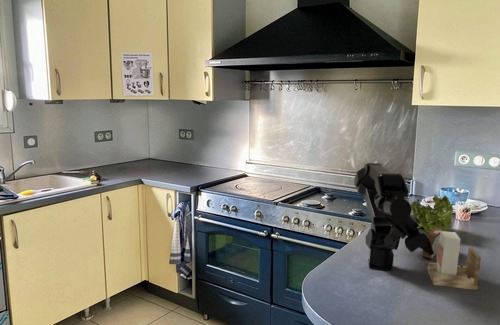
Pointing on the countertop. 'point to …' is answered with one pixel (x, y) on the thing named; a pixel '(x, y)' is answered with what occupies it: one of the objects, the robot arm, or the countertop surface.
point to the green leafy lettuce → (434, 214)
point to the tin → (433, 242)
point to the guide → (459, 273)
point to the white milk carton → (448, 253)
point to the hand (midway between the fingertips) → (432, 254)
